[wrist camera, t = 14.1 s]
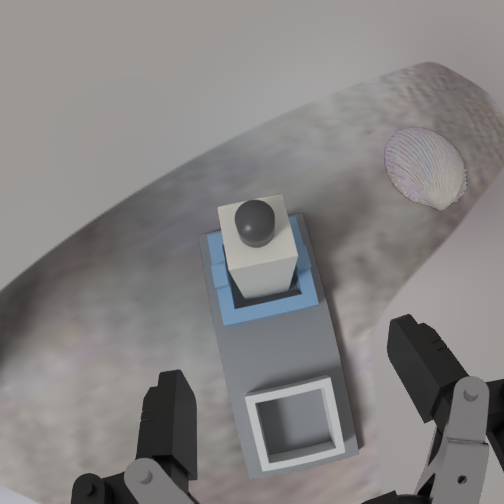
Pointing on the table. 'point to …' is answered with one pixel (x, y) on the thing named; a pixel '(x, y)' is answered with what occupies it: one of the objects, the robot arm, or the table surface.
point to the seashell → (425, 167)
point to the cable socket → (281, 365)
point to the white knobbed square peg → (259, 245)
